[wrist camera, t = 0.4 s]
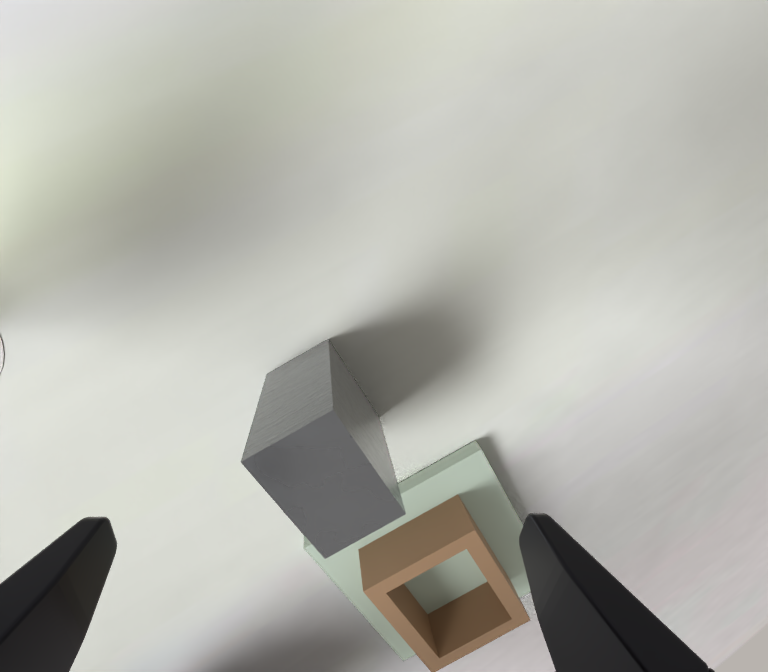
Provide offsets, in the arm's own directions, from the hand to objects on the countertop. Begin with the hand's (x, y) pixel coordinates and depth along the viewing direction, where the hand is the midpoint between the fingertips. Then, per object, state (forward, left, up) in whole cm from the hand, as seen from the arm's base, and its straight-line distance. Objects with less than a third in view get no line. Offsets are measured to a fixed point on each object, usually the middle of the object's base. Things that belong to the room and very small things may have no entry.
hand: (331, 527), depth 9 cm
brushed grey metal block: (-2, -4, -14) cm, 15 cm away
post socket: (-2, -19, -14) cm, 24 cm away
